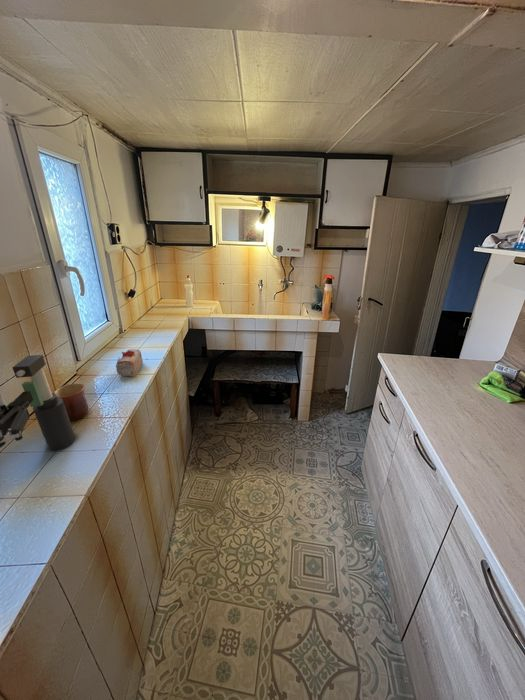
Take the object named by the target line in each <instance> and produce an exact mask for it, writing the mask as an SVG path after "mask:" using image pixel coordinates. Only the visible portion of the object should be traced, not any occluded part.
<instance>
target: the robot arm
mask: <svg viewBox="0 0 525 700" xmlns="http://www.w3.org/2000/svg"><path fill="white" fill-rule="evenodd" d="M32 401H33V398H32V395H31V393H30V391H26V392H25V391H22V392H21V393H20V394H19V395H18V396H17V397H15V399H14V400H13V401H11V402H9V403H8V404H7V405H6V404H1V405H0V449H1V448H2V447H4V446H5V445H6V444H7V442H9V441H12V440H15V441H16V442H17V441H21V440H23V438H24V437H23V431H24V429H25V427H26V425H27V424H28V422H29V421H28V420H29V419H30V416H31V415H30V412H29V409H28V408H29V407H30V403H31V402H32Z"/></svg>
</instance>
